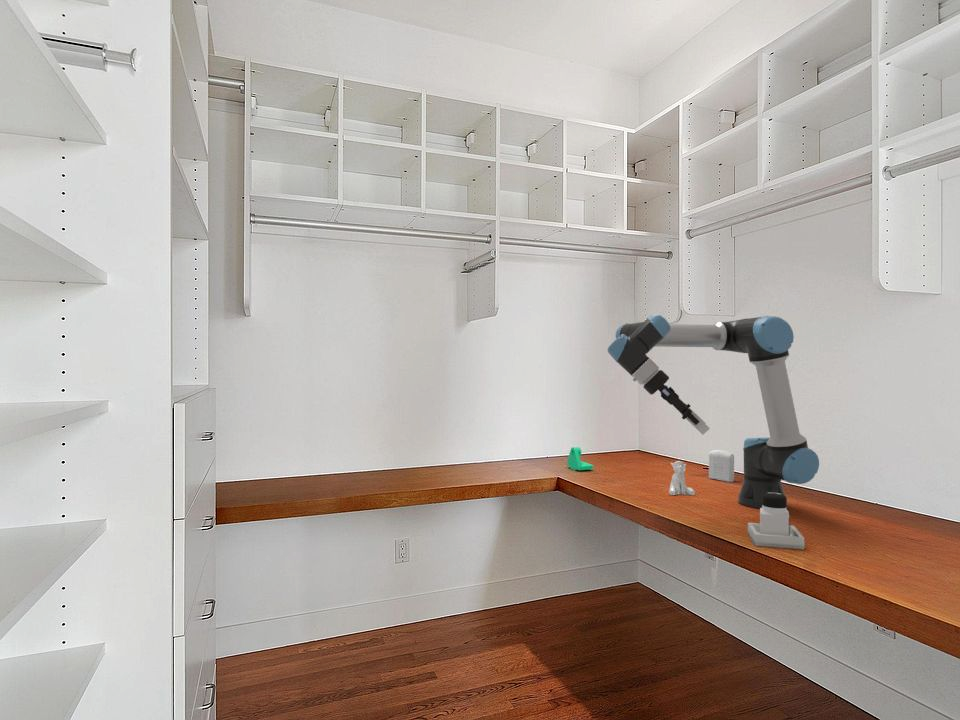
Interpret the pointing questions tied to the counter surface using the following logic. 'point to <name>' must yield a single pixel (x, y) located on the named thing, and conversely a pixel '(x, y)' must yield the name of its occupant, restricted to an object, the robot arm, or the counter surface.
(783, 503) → the medicine bottle
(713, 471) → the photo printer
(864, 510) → the counter surface
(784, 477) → the robot arm
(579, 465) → the green angular piece
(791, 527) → the grey square tray
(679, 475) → the white creature statuette
